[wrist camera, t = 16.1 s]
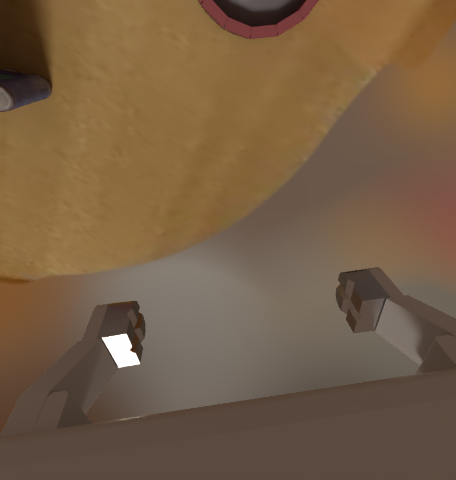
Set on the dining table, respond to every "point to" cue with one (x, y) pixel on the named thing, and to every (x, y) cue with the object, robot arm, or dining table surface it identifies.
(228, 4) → the round tray
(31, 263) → the dining table surface
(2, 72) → the flask
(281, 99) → the dining table surface
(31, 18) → the dining table surface
